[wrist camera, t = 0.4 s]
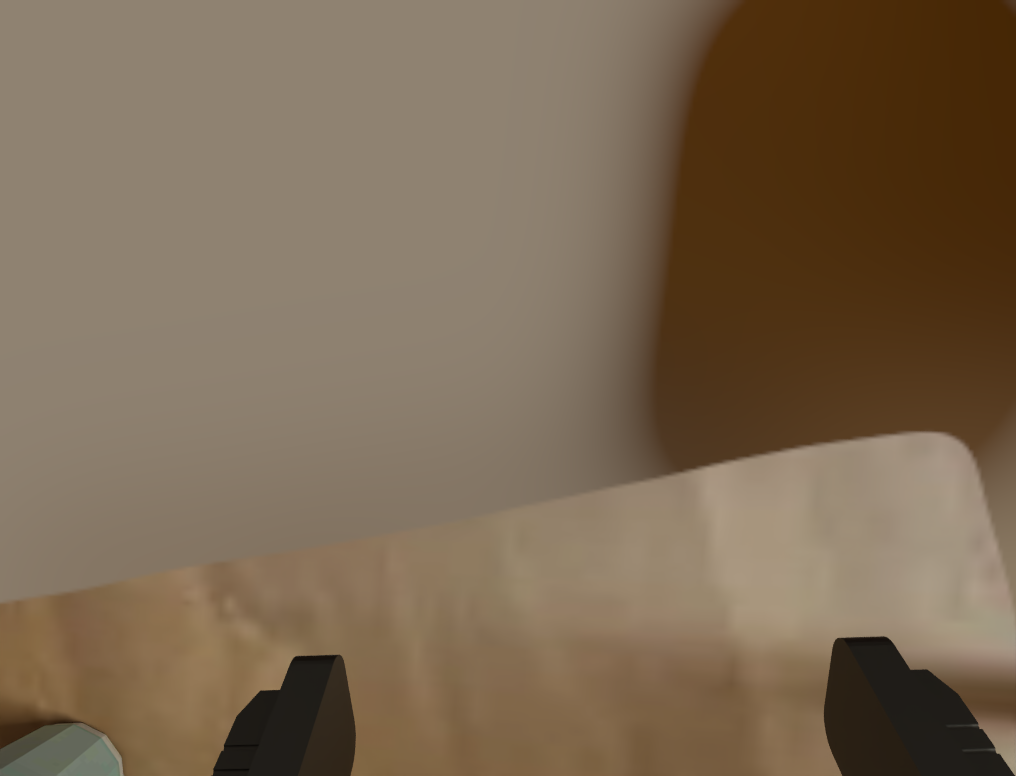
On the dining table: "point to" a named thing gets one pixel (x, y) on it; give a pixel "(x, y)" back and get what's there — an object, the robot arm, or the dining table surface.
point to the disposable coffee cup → (61, 753)
